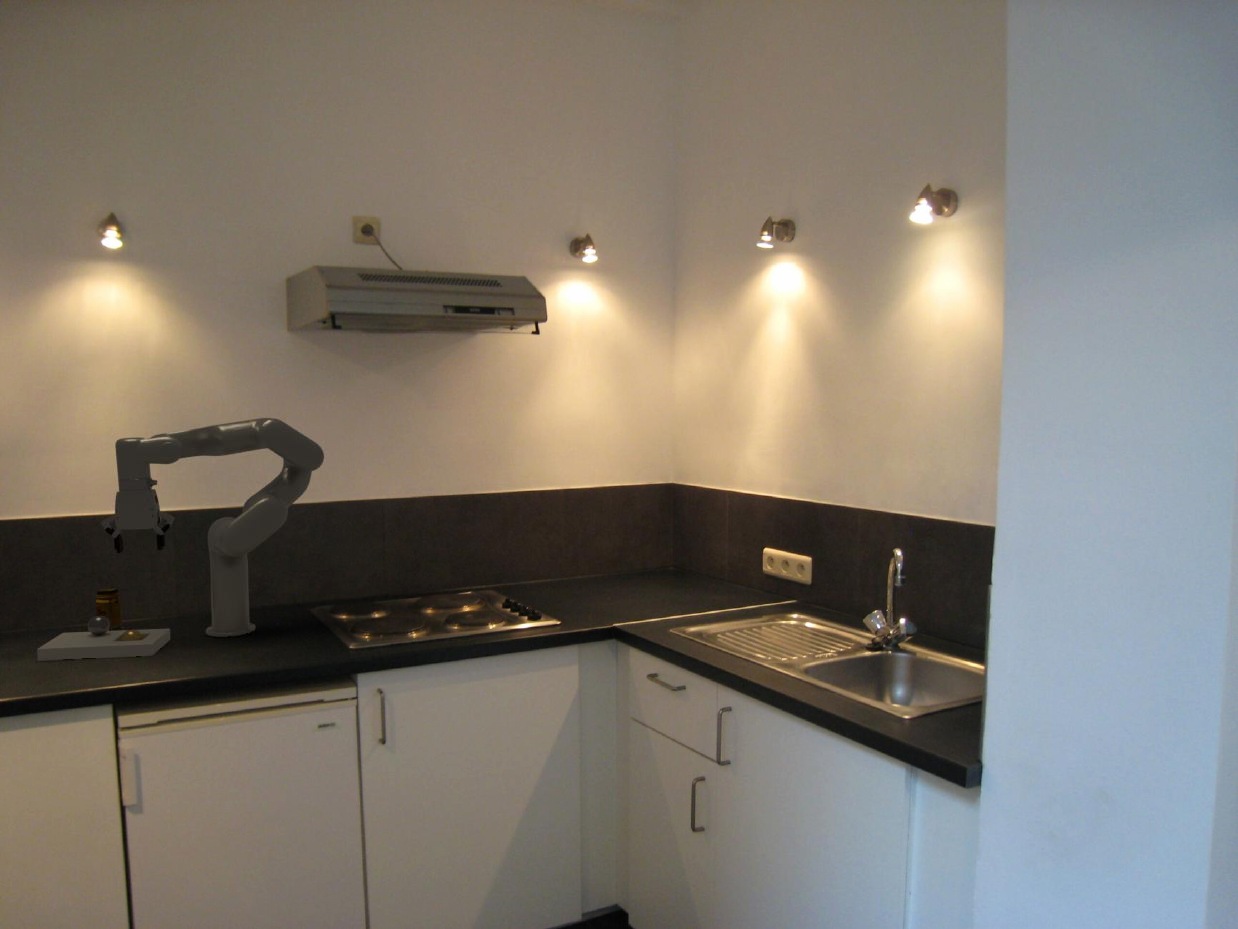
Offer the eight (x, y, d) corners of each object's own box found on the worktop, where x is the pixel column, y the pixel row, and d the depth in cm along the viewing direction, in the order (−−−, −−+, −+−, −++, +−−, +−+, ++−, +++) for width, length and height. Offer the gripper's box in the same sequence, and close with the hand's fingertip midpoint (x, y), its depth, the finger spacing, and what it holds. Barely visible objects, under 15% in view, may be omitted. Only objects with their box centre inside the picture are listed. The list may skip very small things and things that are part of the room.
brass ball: (125, 647, 242) (123, 628, 242) (146, 645, 243) (144, 626, 243) (118, 652, 237) (116, 633, 237) (139, 650, 238) (138, 631, 238)
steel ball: (92, 633, 244) (91, 614, 244) (113, 632, 245) (112, 613, 245) (85, 637, 239) (84, 618, 239) (106, 637, 240) (105, 617, 240)
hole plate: (63, 644, 244) (63, 632, 244) (170, 639, 249) (169, 628, 249) (37, 661, 229) (37, 649, 228) (152, 656, 234) (151, 644, 233)
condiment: (89, 634, 255) (87, 590, 254) (114, 627, 263) (113, 584, 262) (110, 636, 253) (108, 592, 252) (135, 629, 261) (133, 586, 260)
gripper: (174, 482, 247) (179, 546, 249) (103, 485, 243) (108, 550, 245) (167, 485, 240) (172, 551, 241) (93, 489, 236) (99, 556, 238)
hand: (140, 550), depth 243 cm, fingers open, 9 cm apart
